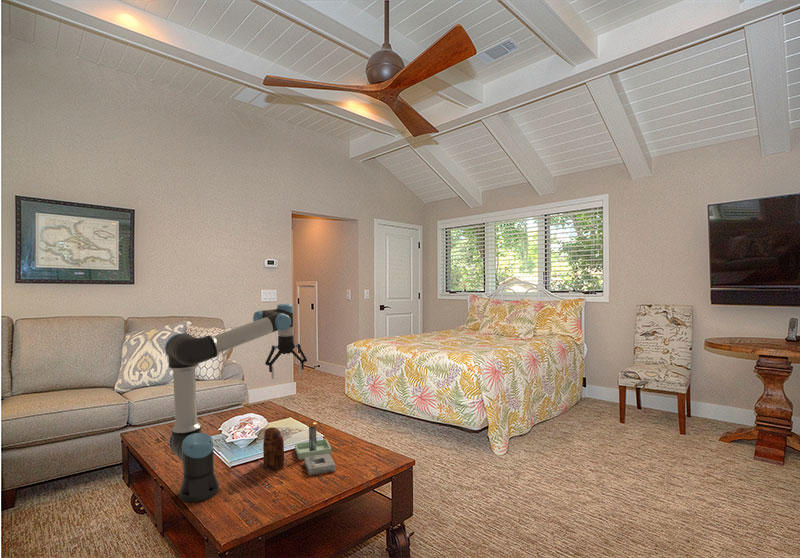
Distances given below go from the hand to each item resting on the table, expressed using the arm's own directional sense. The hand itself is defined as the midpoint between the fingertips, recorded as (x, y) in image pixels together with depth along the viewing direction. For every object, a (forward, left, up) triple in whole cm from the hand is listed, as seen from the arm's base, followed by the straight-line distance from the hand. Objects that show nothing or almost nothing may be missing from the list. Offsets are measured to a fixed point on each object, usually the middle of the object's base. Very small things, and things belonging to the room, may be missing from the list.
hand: (286, 377), depth 234 cm
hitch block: (+11, -26, -37) cm, 46 cm away
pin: (+11, -9, -36) cm, 39 cm away
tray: (+11, -9, -37) cm, 39 cm away
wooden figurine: (-9, -17, -37) cm, 42 cm away
